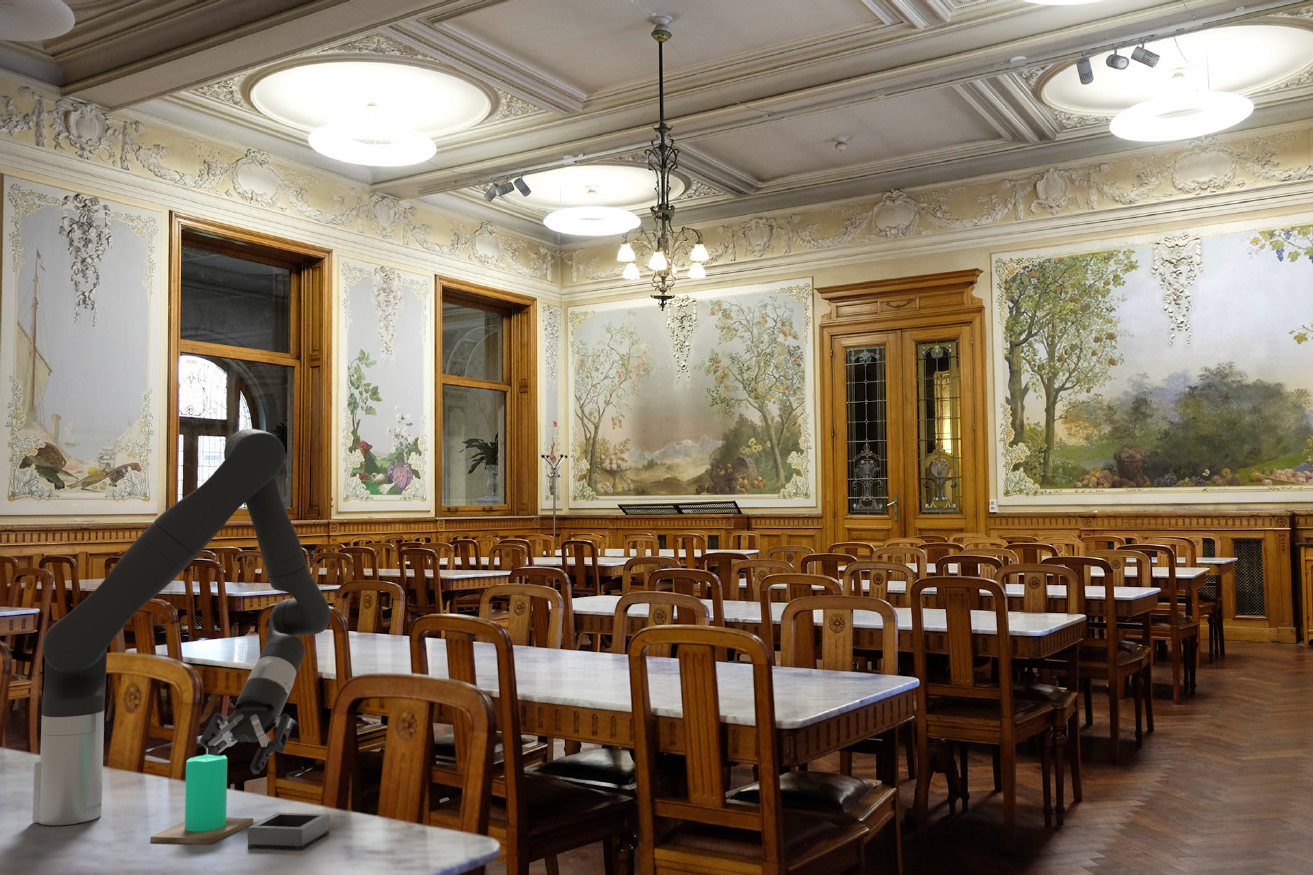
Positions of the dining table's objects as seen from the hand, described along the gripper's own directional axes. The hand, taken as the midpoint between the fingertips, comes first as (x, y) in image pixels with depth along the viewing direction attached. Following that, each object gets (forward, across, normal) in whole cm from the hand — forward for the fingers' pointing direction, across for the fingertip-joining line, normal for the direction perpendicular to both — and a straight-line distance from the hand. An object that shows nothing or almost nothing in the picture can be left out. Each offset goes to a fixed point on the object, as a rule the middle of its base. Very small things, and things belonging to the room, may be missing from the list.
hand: (229, 770), depth 179 cm
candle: (+10, 0, 0) cm, 10 cm away
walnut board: (+11, 0, 0) cm, 11 cm away
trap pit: (+13, +16, -2) cm, 20 cm away
